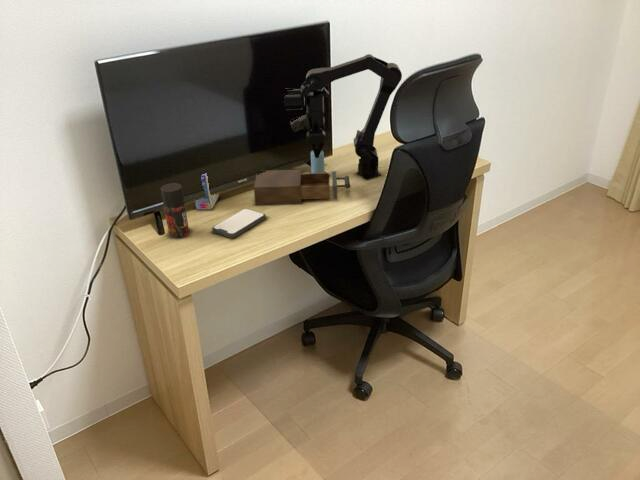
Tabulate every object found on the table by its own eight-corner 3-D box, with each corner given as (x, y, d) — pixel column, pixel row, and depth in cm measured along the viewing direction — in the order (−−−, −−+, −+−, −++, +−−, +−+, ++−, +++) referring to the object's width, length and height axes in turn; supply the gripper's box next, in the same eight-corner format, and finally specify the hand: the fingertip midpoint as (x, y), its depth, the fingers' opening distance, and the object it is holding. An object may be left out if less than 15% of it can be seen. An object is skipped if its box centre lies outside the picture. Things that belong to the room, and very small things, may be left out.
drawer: (348, 183, 197) (348, 170, 195) (350, 198, 186) (350, 185, 184) (295, 185, 197) (294, 172, 195) (294, 200, 186) (293, 187, 184)
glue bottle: (319, 172, 208) (318, 141, 202) (326, 176, 204) (326, 145, 199) (309, 175, 206) (307, 144, 200) (315, 179, 202) (314, 148, 196)
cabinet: (301, 186, 198) (301, 169, 195) (301, 203, 186) (300, 185, 183) (258, 187, 198) (257, 170, 195) (255, 205, 186) (253, 187, 183)
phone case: (245, 212, 183) (210, 232, 171) (245, 207, 182) (210, 227, 171) (267, 218, 179) (233, 239, 167) (267, 214, 178) (232, 235, 166)
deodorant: (171, 228, 174) (163, 183, 167) (191, 228, 174) (183, 182, 167) (166, 238, 169) (158, 192, 162) (186, 238, 169) (178, 191, 161)
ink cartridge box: (203, 196, 193) (197, 155, 186) (219, 196, 193) (214, 156, 186) (194, 209, 185) (188, 167, 178) (211, 210, 184) (205, 168, 177)
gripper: (292, 101, 201) (294, 144, 209) (290, 118, 185) (292, 163, 193) (324, 100, 201) (325, 143, 209) (325, 117, 185) (326, 162, 193)
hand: (316, 152), depth 201 cm, fingers open, 9 cm apart
